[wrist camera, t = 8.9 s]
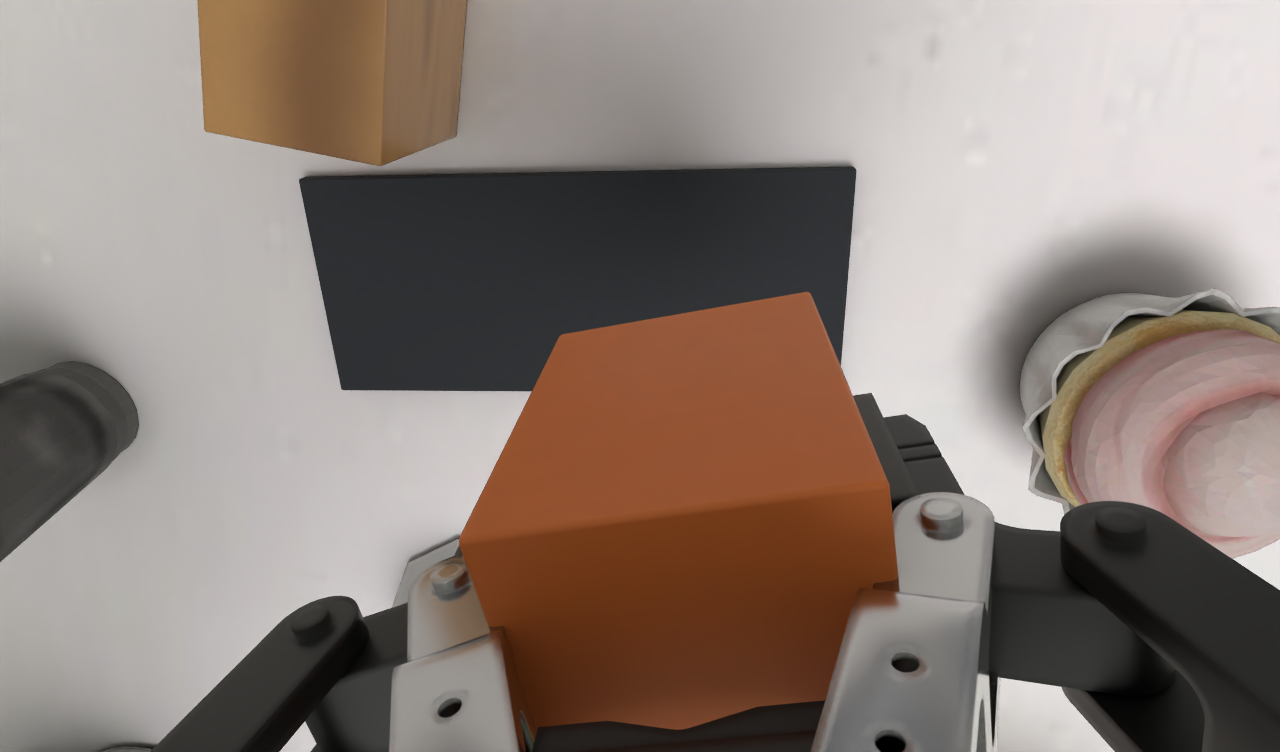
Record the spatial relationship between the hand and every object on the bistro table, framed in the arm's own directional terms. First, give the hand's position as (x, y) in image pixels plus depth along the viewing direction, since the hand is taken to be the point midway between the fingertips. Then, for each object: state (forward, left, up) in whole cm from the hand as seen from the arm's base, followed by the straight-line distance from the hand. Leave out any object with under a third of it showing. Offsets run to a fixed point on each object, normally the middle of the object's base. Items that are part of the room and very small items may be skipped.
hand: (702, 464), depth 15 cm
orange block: (0, 0, -2) cm, 2 cm away
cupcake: (+15, -5, -16) cm, 22 cm away
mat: (-5, -1, -15) cm, 16 cm away
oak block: (-11, +7, -15) cm, 20 cm away
